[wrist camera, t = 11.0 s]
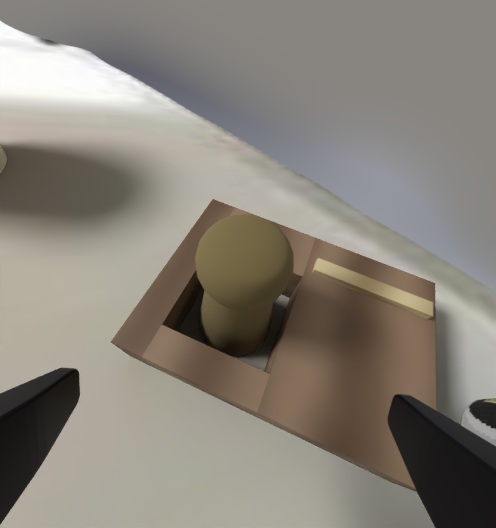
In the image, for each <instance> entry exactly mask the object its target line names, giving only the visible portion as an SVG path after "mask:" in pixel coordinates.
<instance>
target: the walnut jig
mask: <svg viewBox="0 0 496 528" xmlns="http://www.w3.org/2000/svg"><path fill="white" fill-rule="evenodd" d="M241 214H247V215H253V214H251V213H248V212H246V211H243V210H240V209H238V208H235V207H232V206H230V205H227V204H224V203H222V202H219V201H216V200H214V199H213V200H212V201H211V202H210V204H209V205H208V207H207V208H206V209H205V211H204V212H203V214H202V215H201V216H200V218H199V219H198V221H197V222H196V223H195V225H194V226H193V228H192V229H191V230H190V232H189V233H188V235H187V236H186V237H185V239H184V240H183V242H182V243H181V244H180V246H179V247H178V249H177V250H176V251H175V253H174V254H173V256H172V257H171V258H170V260H169V261H168V263H167V264H166V265H165V267H164V268H163V270H162V271H161V272H160V274H159V275H158V277H157V278H156V279H155V281H154V282H153V284H152V285H151V286H150V288H149V289H148V291H147V292H146V293H145V295H144V296H143V298H142V299H141V300H140V302H139V303H138V305H137V306H136V307H135V309H134V310H133V312H132V313H131V314H130V316H129V317H128V319H127V320H126V321H125V323H124V324H123V326H122V327H121V328H120V330H119V331H118V333H117V334H116V335H115V337H114V338H113V340H112V341H111V343H113V344H114V345H116V346H117V347H118V348H120V349H121V350H123V351H124V352H125V353H127V354H128V355H130V356H131V357H134V358H136V359H138V360H140V361H142V362H144V363H146V364H148V365H150V366H152V367H154V368H156V369H158V370H160V371H163V372H165V373H167V374H169V375H171V376H173V377H175V378H177V379H179V380H181V381H183V382H185V383H187V384H189V385H191V386H194V387H196V388H198V389H200V390H202V391H204V392H206V393H208V394H210V395H212V396H214V397H216V398H218V399H220V400H223V401H225V402H227V403H229V404H231V405H233V406H235V407H237V408H239V409H241V410H243V411H245V412H247V413H249V414H252V415H254V416H256V417H258V418H260V419H262V420H264V421H266V422H268V423H270V424H272V425H274V426H276V427H278V428H280V429H283V430H285V431H287V432H289V433H291V434H293V435H295V436H297V437H299V438H301V439H303V440H305V441H307V442H309V443H312V444H314V445H316V446H318V447H320V448H322V449H324V450H326V451H328V452H330V453H332V454H334V455H336V456H338V457H340V458H343V459H345V460H347V461H349V462H351V463H353V464H355V465H357V466H359V467H361V468H363V469H365V470H367V471H369V472H372V473H374V474H376V475H378V476H380V477H382V478H384V479H386V480H388V481H390V482H392V483H395V484H398V485H400V486H403V487H406V488H408V489H411V490H414V491H416V489H415V486H414V484H413V482H412V480H411V478H410V475H409V473H408V471H407V468H406V466H405V464H404V461H403V459H402V457H401V454H400V452H399V450H398V447H397V445H396V443H395V440H394V438H393V436H392V433H391V431H390V429H389V426H388V421H387V418H388V413H389V410H390V406H391V402H392V399H393V397H394V395H396V394H404V395H411V396H413V397H414V398H416V399H418V400H419V401H421V402H423V403H424V404H426V405H428V406H429V407H431V408H433V409H434V410H436V411H437V408H436V324H435V283H433V282H431V281H428V280H425V279H423V278H420V277H417V276H415V275H412V274H409V273H407V272H404V271H401V270H399V269H396V268H394V267H391V266H388V265H386V264H383V263H380V262H378V261H375V260H372V259H370V258H367V257H364V256H362V255H359V254H357V253H354V252H351V251H349V250H346V249H343V248H341V247H338V246H335V245H333V244H330V243H327V242H325V241H322V240H320V239H317V238H314V237H312V236H309V235H306V234H304V233H301V232H298V231H296V230H293V229H290V228H288V227H285V226H283V225H280V224H277V223H275V222H272V221H270V222H272V223H273V224H275V225H276V226H277V227H279V228H280V229H281V231H282V232H283V233H284V235H285V236H286V237H287V239H288V240H289V242H290V245H291V248H292V250H293V253H294V267H293V274H292V277H291V279H290V282H289V284H288V286H287V288H286V290H285V291H284V292H283V293H282V295H285V296H287V297H290V299H289V302H288V305H287V308H286V311H285V314H284V316H283V319H282V322H281V325H280V328H279V331H278V334H277V337H276V339H275V342H274V345H273V348H272V351H271V354H270V357H269V360H268V362H267V365H266V368H265V371H262V370H260V369H258V368H255V367H253V366H251V365H249V364H247V363H244V362H242V361H240V360H238V359H236V358H234V357H231V356H229V355H227V354H225V353H223V352H220V351H218V350H216V349H214V348H212V347H210V346H207V345H205V344H203V343H201V342H199V341H196V340H194V339H192V338H190V337H188V336H185V335H183V334H181V333H179V332H177V330H178V329H179V327H180V325H181V323H182V322H183V320H184V318H185V317H186V315H187V313H188V311H189V310H190V308H191V306H192V305H193V303H194V301H195V299H196V298H197V296H198V294H199V292H200V291H201V289H202V285H201V283H200V281H199V279H198V277H197V271H196V263H195V256H196V252H197V248H198V244H199V241H200V239H201V238H202V236H203V235H204V233H205V232H206V231H207V229H209V228H210V227H211V226H212V225H214V224H215V223H217V222H218V221H219V220H221V219H223V218H226V217H229V216H232V215H241ZM254 216H256V215H254ZM266 220H267V219H266Z"/></svg>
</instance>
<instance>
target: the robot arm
mask: <svg viewBox="0 0 496 528" xmlns="http://www.w3.org/2000/svg"><path fill="white" fill-rule="evenodd" d="M79 396H80V386H79V372H78V370H77V369H74V368H59V369H57V370H54V371H52V372H50V373H47V374H45V375H43V376H40V377H38V378H36V379H33V380H31V381H29V382H26V383H24V384H22V385H19V386H17V387H15V388H12V389H10V390H8V391H5V392H3V393H1V394H0V524H1V523H2V521H3V520H4V518H5V517H6V516H7V514H8V513H9V511H10V510H11V508H12V507H13V506H14V504H15V503H16V501H17V500H18V498H19V497H20V495H21V494H22V493H23V491H24V490H25V488H26V487H27V485H28V484H29V483H30V481H31V480H32V478H33V477H34V475H35V474H36V472H37V471H38V469H39V468H40V466H41V465H42V463H43V461H44V460H45V458H46V456H47V455H48V453H49V451H50V450H51V448H52V446H53V445H54V443H55V441H56V439H57V438H58V436H59V434H60V432H61V431H62V429H63V427H64V426H65V424H66V422H67V420H68V419H69V417H70V415H71V414H72V412H73V410H74V408H75V407H76V405H77V403H78V400H79ZM387 421H388V426H389V429H390V431H391V433H392V436H393V438H394V440H395V443H396V445H397V447H398V450H399V452H400V454H401V457H402V459H403V461H404V464H405V466H406V468H407V471H408V473H409V475H410V478H411V480H412V482H413V484H414V486H415V489H416V491H417V493H418V495H419V497H420V499H421V501H422V503H423V504H424V506H425V508H426V510H427V512H428V514H429V516H430V518H431V520H432V522H433V524H434V526H435V528H496V446H495V445H493V444H491V443H490V442H488V441H486V440H485V439H483V438H481V437H480V436H478V435H476V434H475V433H473V432H471V431H470V430H468V429H466V428H465V427H463V426H461V425H460V424H458V423H456V422H454V421H453V420H451V419H449V418H448V417H446V416H444V415H443V414H441V413H439V412H438V411H436V410H434V409H433V408H431V407H429V406H428V405H426V404H424V403H423V402H421V401H419V400H418V399H416V398H414V397H413V396H411V395H404V394H396V395H394V397H393V399H392V402H391V406H390V410H389V413H388V418H387Z"/></svg>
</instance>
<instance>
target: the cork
mask: <svg viewBox="0 0 496 528" xmlns="http://www.w3.org/2000/svg"><path fill="white" fill-rule="evenodd" d="M195 263H196V271H197V277H198V279H199V281H200V283H201V285H202V287H203V289H204V295H203V301H202V306H201V311H200V316H199V327H200V332H201V334H202V336H203V338H204V341H205V342H206V343H207V344H208V345H209V346H210V347H212V348H214V349H216V350H218V351H220V352H223V353H225V354H227V355H229V356H235V357H237V356H242V355H246V354H249V353H251V352H252V351H254V350H256V349H257V348H259V346H260V345H261V344H262V343H263V342H264V341H265V339H266V336H267V334H268V331H269V328H270V321H271V315H272V308H273V301H275V300H276V299H277V298H278V297H279V296H280V295H281V294H282V293H283V292H284V291H285V290H286V288H287V286H288V284H289V282H290V279H291V277H292V274H293V267H294V253H293V250H292V248H291V245H290V242H289V240H288V239H287V237H286V236H285V235H284V233H283V232H282V231H281V229H280V228H279V227H277V226H276V225H275V224H273V223H272V222H270V221H269V220H266V219H264V218H261V217H259V216H254V215H247V214H241V215H232V216H229V217H226V218H223V219H221V220H219V221H218V222H217V223H215V224H214V225H212V226H211V227H210V228H209V229H207V231H206V232H205V233H204V235H203V236H202V238H201V239H200V241H199V244H198V248H197V252H196V256H195Z"/></svg>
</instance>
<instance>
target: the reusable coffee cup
mask: <svg viewBox="0 0 496 528" xmlns="http://www.w3.org/2000/svg"><path fill="white" fill-rule="evenodd" d="M6 163H7V156H6V154H5V152H4V151H3V149H2V147H1V146H0V173H1V172H2V171H3V169H4V168H5V166H6Z"/></svg>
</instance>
